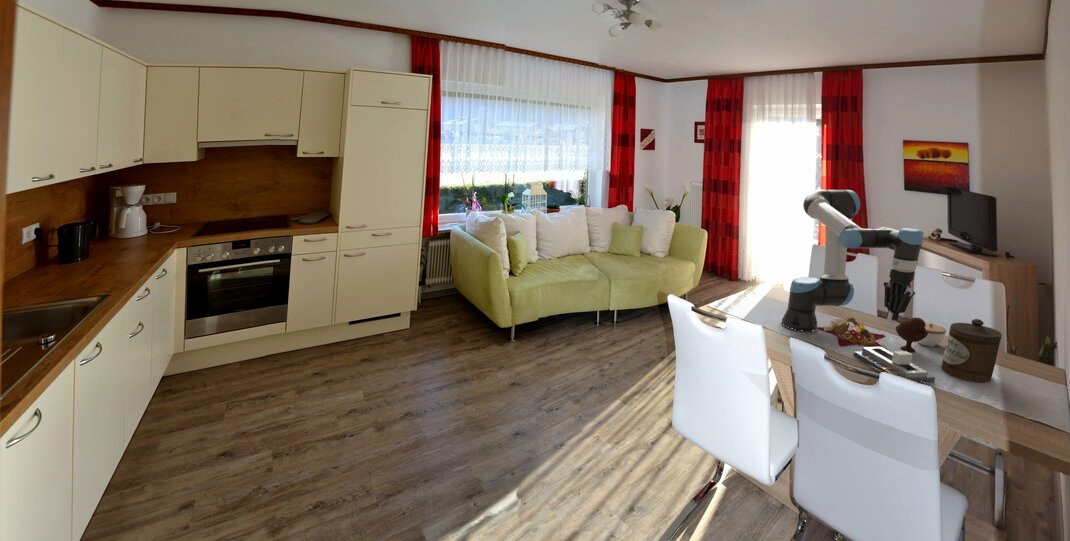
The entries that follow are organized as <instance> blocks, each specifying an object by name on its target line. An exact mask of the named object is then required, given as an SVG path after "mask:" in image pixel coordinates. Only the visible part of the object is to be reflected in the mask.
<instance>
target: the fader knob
mask: <svg viewBox="0 0 1070 541" xmlns="http://www.w3.org/2000/svg"><path fill="white" fill-rule="evenodd" d="M892 353H893V358H892V361H893V362H894V363H896V364H898V365H900V366H901V367H903V368H905V369H907V370H908V366H909V365H907V364H910V363H912V357H913V353H909V352H907V351H902V350H901V351H900V350H899V351H893V352H892Z"/></svg>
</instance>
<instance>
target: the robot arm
mask: <svg viewBox="0 0 1070 541" xmlns="http://www.w3.org/2000/svg"><path fill="white" fill-rule="evenodd" d="M860 208H861V201H860V197H859V195H858V194H857V193H856V192H855V191H853V190H851V189H818V190H814V191H812V192H810V193H809V194H807V195H806V197H805V198H804V201H803V210H804V212H805V214H807V216H809V217H810V219H811V218H812V219H814V220H817V221H819V222H820V223H821V224H822V225H824V226H825V228H826V236H825V248H824V249H825V251H824V265H823V266H824V267H823V274H821V275H820V276H819V279H818V278H816V277H812V276H811V277H808V276H800V277H796V278H794V279H793V280H792V281H791V283H790V287H789V296H788V303H787V309H786V311H785V313H784V315H783V317H782V318H781V325H782V324H784V325H785V326H787V327H789V328H793V329H796V330H795V331H797V330H803V331H802V332H806V331H809V332H813V331H812V330H815V331H817V328H818V321H817V315H816V308H817V307H819V306H821V307H822V306H823V307H827V306H828V307H829V306H831V307H839V306H840V307H841V306H846V305H848V304H849V303H850V302H852V300H853V299H854V298H853V297H854V294H855V287H854V285H853V283H852V282H851V281H849V279H850V278H849V277H848V276H847V275H846V269H847V268H846V267H847V254H848V253H847V252H848V251H847V250H848V249H890V250H891V251H894V253H893V257H892V258H893V259H892V263H891V268H890V271H889V278H890V279H889V281H885V282H883V287H884V303H883V304H884V307H885V308H886V309H887V313H886V314H887V315H886V318H887V319H886V323H885V328H888V329H890V328H891V329H894V328H895V329H896V326H897V321H898V319H899V316H900V314H901V313H902V314H904V313H905V312H906V310H907V308H908V306H909V303H910V302H911V300H912V298H913V297H914V296H915V294H916V291H912V289H911V288H912V286H911V283H912V282H913V281H914V279H915V275H916V272H915V271H916V270H917V265H918V260H919V256H920V253H921V249H922V244H923V238H924V231H922V230H921V229H918V228H913V227H912V228H911V227H902V228H900V229H899V230H897V229H895V228H892V227H886V226H881V227H879V228H862V227H861V226H859V225H857V223H855V222H853V221H852V220H853V219H854V216H856V215H857V214H859V211H860ZM785 326H784V327H785ZM787 327H786V328H787ZM789 328H788V329H789ZM793 329H792V330H793Z"/></svg>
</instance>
